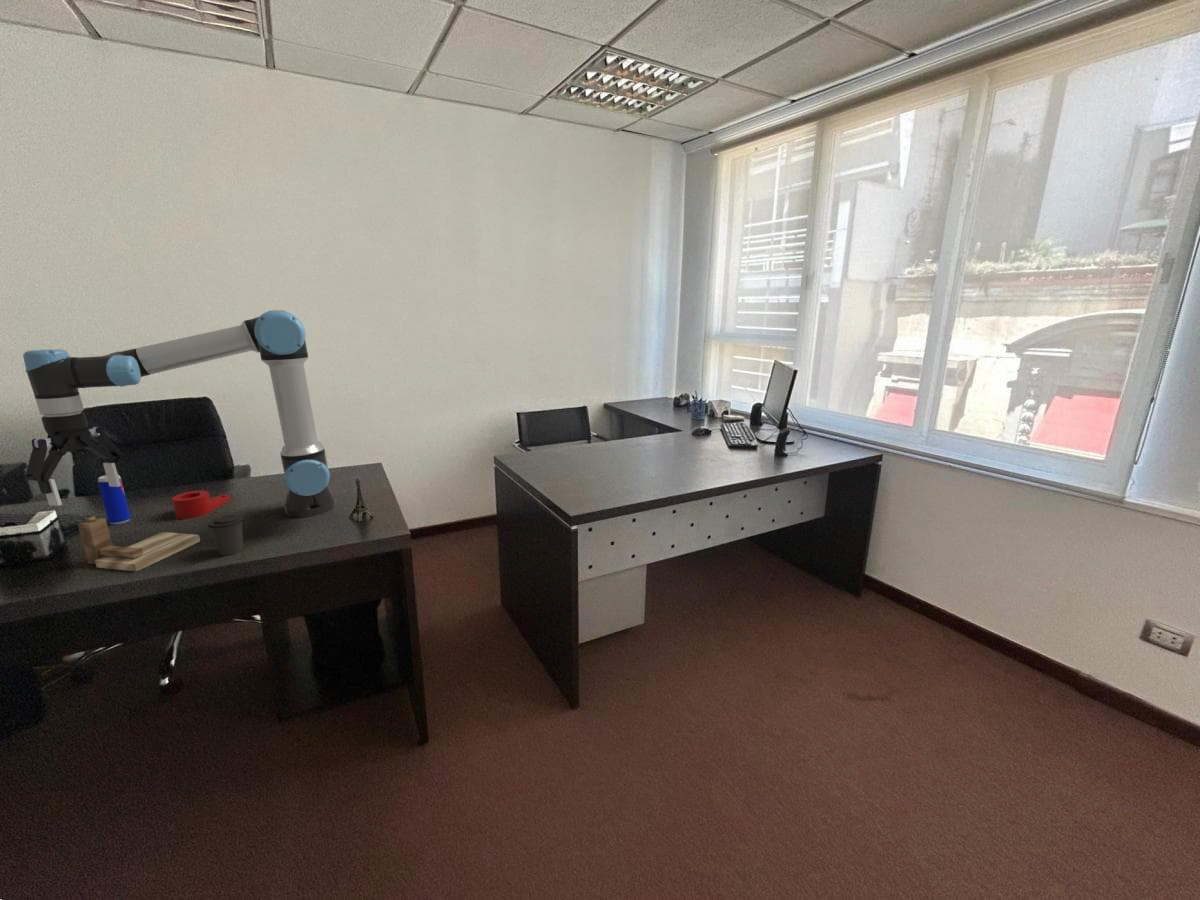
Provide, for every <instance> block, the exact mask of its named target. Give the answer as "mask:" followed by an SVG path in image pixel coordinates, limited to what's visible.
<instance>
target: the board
mask: <svg viewBox="0 0 1200 900" xmlns="http://www.w3.org/2000/svg"><path fill="white" fill-rule="evenodd" d="M199 542H201V538H200V535H199V534H194V533H193V534H192V533H191V534H190V533H182V532H181V533H179V532H168V531H162V532H160V533H157V534H154V535H151V536H149V537H147V538H145V539H142V540H141V541H138V542H136V543H133V544H130V545H129V546H128V545H127V547H132V548H142V550H143V554H142V555H140V556H138V557H135V558H127V557H116V556H104V557H102V558H99V559H97V560H95V563H96V564H95V567H96V568H97V569H108V570H110V569H111V570H119V571H131V572H138V571H140V570H142V569H144V568H147V567H149V566H151V565H153V564H155V563H158V562H159V561H161V560H163V559H165V558H169V557H170V556H172V555H174V554H176V553H178V552H181V551H183V550H186V549H187V548H189V547H192V546H193V545H195V544H197V543H199Z"/></svg>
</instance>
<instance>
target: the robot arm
mask: <svg viewBox="0 0 1200 900" xmlns="http://www.w3.org/2000/svg"><path fill="white" fill-rule="evenodd" d="M307 347H308V346H307V343H306V330H305V327H304V325H303V323H302V322H301V320H300V319H299V318H298V317H297V316H296V315H294V314H293V313H291V312H289V311H286V310H280V309H279V310H278V309H275V310H273V309H272V310H268V311H266V312H263V313H262V314H260V315H259V316H257V317H255V318H251V319H246V320H243V321H242V322H241V324H240V325H236V326H231V327H227V328H222V329H217V330H214V331H213V330H211V331H209V332H205V333H200V334H199V333H198V334H194V335H190V336H185V337H181V338H180V337H179V338H177V339H176V338H175V339H171V340H168V341H162V342H158V343H154V344H149V345H145V346H140V347H137V348H132V349H127V350H121V351H120V350H119V351H115V352H111V353H109V354H105V355H102V356H101V355H100V356H99V355H98V356H84V357H83V356H82V357H81V356H80V357H77V356H76V357H75V356H70V355H69V353H68V351H67V350H66V349H64V348H63V349H60V348H59V349H56V348H55V349H54V348H53V349H51V348H50V349H32V350H27V351H25V352H23V356H22V358H23V362H24V367H25V373H26V374H27V376H28V381H29V383H30V386H31V390H32V392H33V395H34V398H35V402H36V405H37V408H38V412H39V414H40V415H41V416H42V417H41V418H40V420H41V422H42V427H43V429H44V431H45V432H46V434H47V438H33V439H32V440H31V447H32V450H31V454H30V458H29V461H28V464H27V467H26V472H25V475H24V480H25V481H33V482H37V484H38V487H39V491H40V493H41V494H42V495H43V494H44V495H45V496H46V500H47V503H48V506H56V507H57V506H58V507H59V506H63V503H62V500H61V497H60V493H59V491H58V487H57V483H56V481H55V479H54V478H51V477H52V476H53V473H54V472H55V470H56V468H57V467H58V465H59V463H60V461H61V460H62V458H63V456H65V455H67V453H72V452H75V451H77V450H80V451H81V450H86V451H89V452H91V453H92V454H94V455H95V456H97V457H99V458H100V459H102V460H104V461H105V462H103V463H102V464H103V468H104V472H105V475H106V476H107V480H108V483H109V486H112V487H119V486H121V484H120V481H119V477H118V475H119V474H120V466H119V464H118V463H120V462H121V459H123V458H125V454H124V452H123V451H122V450H121V449H120V448H119V447H118V446H117V445H116V444H115V443H114V442H113V441H112V440H111V439H110V438H109V436H107V435H106V432H105V430H104V428H103V427H101V426H98V427H97V426H92V427H90V428H89V429H88V426H89V423H88V419H87V417H86V413H84V412H83V411H84V410H85V408H84V404H83V401H82V398H81V395H80V391H79V389H86V388H105V387H106V388H108V387H110V388H111V387H127V386H135V385H139V384H140V382H141V379H142V377H143V378H144V377H147V376H150V375H154V374H159V373H163V372H167V371H171V370H174V369H179V368H184V367H187V366H194V365H196V364H201V363H204V362H210V361H214V360H217V359H222V358H226V357H230V356H235V355H239V354H243V353H247V352H251V351H252V352H254V353H256V354H258V353H259V354H260V359H261V362H263V363H264V364H266V365H267V366H268V368H269V369H268V370H269V373H270V378H271V382H272V383H271V384H272V389H273V393H274V398H275V403H276V408H277V414H278V418H279V423H280V427H281V428H280V429H281V434H282V439H283V444H284V445H283V446H282V448H281V450H280V453H279V455H280V458H281V459H280V460H281V464H282V468H283V474H284V476H283V477H284V478H283V481H284V483H285V486H286V487H287V494H286V498H285V504H284V512H285V515H286V516H288V517H292V518H309V516H310V517H316V516H320V515H323V514H325V512H326V513H328V511H329V512H330V510H331V511H332V510H334V509H335V508H336V507H337V499H336V497H335V496H334V494H333V492H332V490H331V487H330V486H329V482H330V479H331V472H330V469H329V468H328V461H327V455H326V452H325V451H326V450H325V446H324V444H323V443H322V442H320V441H318V437H317V432H316V427H315V426H316V425H315V421H314V415H313V409H312V408H313V407H312V404H311V399H310V392H309V387H308V382H307V377H306V376H307V375H306V370H305V362H306V361H307V360H308V359H309V354H308V348H307ZM91 437H93V438H94V439H95V440H96V442H97V443H98V444H100V446H101V447H100V446H99V445H97V443H96V442H94V441H92V440H90V439H91ZM50 445H51V447H50V448H49V450H48V447H49V446H50ZM47 452H48V454H47ZM46 456H47V457H46ZM335 506H336V507H335ZM334 507H335V508H334ZM333 508H334V509H333ZM322 513H323V514H322ZM319 514H320V515H319ZM315 515H316V516H315Z"/></svg>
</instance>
